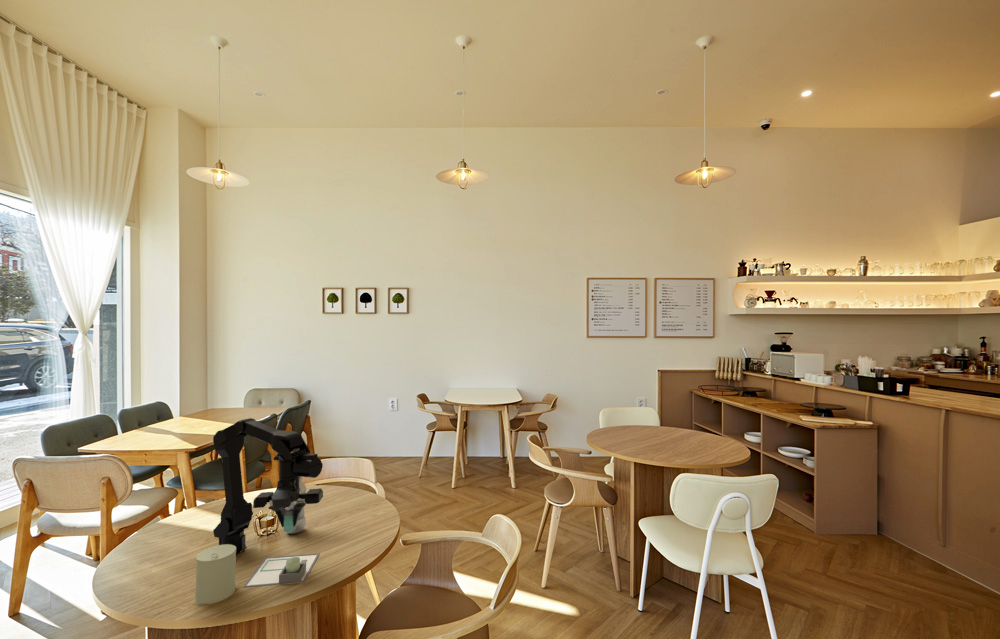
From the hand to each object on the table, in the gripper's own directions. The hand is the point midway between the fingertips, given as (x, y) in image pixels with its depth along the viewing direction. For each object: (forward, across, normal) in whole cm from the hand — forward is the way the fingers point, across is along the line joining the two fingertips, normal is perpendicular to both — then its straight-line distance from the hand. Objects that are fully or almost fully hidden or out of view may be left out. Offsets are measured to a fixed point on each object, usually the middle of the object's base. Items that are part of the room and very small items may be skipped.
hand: (289, 526), depth 131 cm
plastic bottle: (+11, -5, +23) cm, 26 cm away
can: (+12, -14, -14) cm, 23 cm away
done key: (+9, +4, -9) cm, 14 cm away
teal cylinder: (+1, 0, 0) cm, 1 cm away
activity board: (+11, 0, -4) cm, 12 cm away
